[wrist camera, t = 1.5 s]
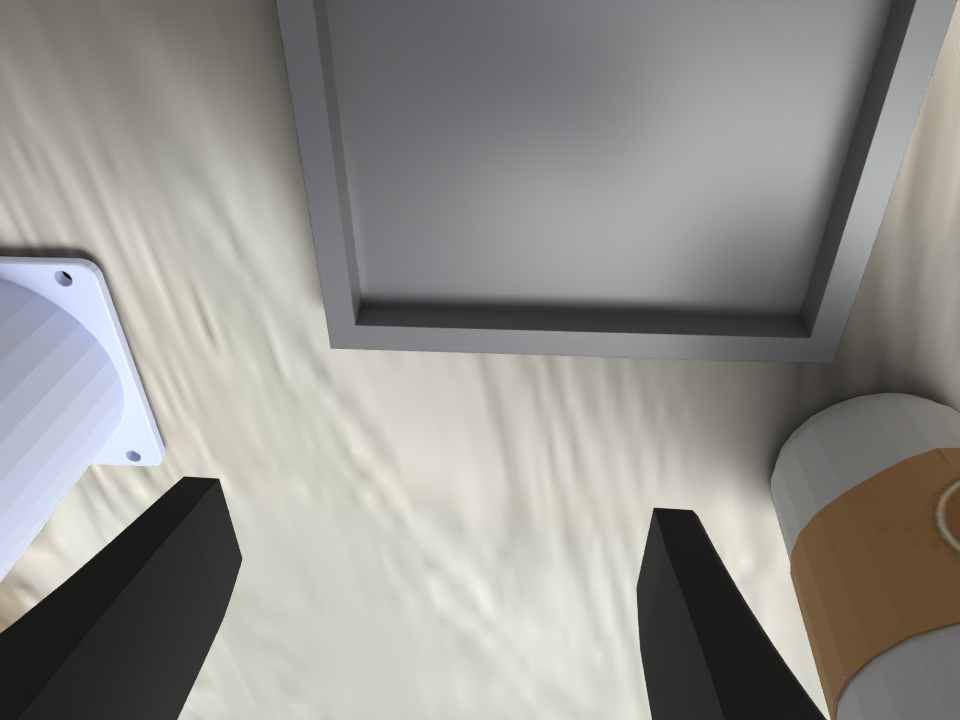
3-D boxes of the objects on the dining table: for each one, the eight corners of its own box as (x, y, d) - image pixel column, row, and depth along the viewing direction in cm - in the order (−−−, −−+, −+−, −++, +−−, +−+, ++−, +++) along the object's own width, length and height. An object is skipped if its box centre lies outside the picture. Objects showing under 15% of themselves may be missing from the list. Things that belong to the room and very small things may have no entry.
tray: (343, 319, 21) (330, 348, 20) (289, -64, 16) (266, -58, 14) (813, 332, 20) (832, 363, 19) (939, -67, 15) (978, -61, 13)
